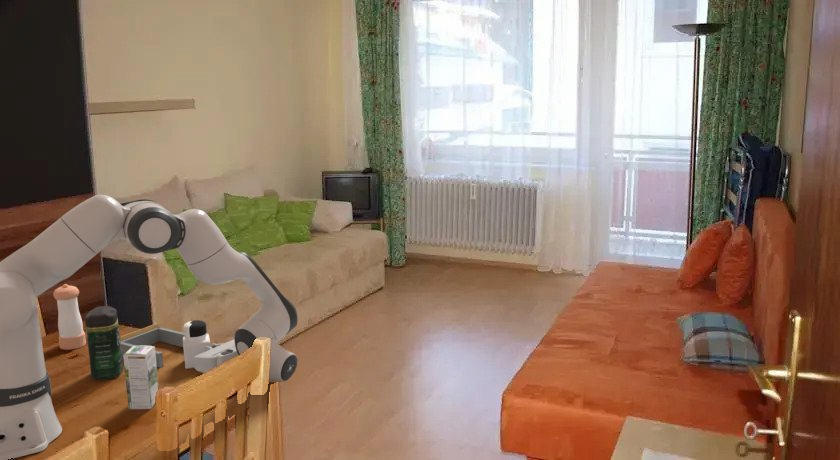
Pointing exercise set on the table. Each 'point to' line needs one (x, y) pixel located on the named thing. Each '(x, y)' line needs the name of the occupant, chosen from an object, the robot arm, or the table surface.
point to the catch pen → (151, 339)
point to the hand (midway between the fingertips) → (208, 347)
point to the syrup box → (141, 376)
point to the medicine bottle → (194, 341)
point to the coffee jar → (104, 343)
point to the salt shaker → (69, 318)
